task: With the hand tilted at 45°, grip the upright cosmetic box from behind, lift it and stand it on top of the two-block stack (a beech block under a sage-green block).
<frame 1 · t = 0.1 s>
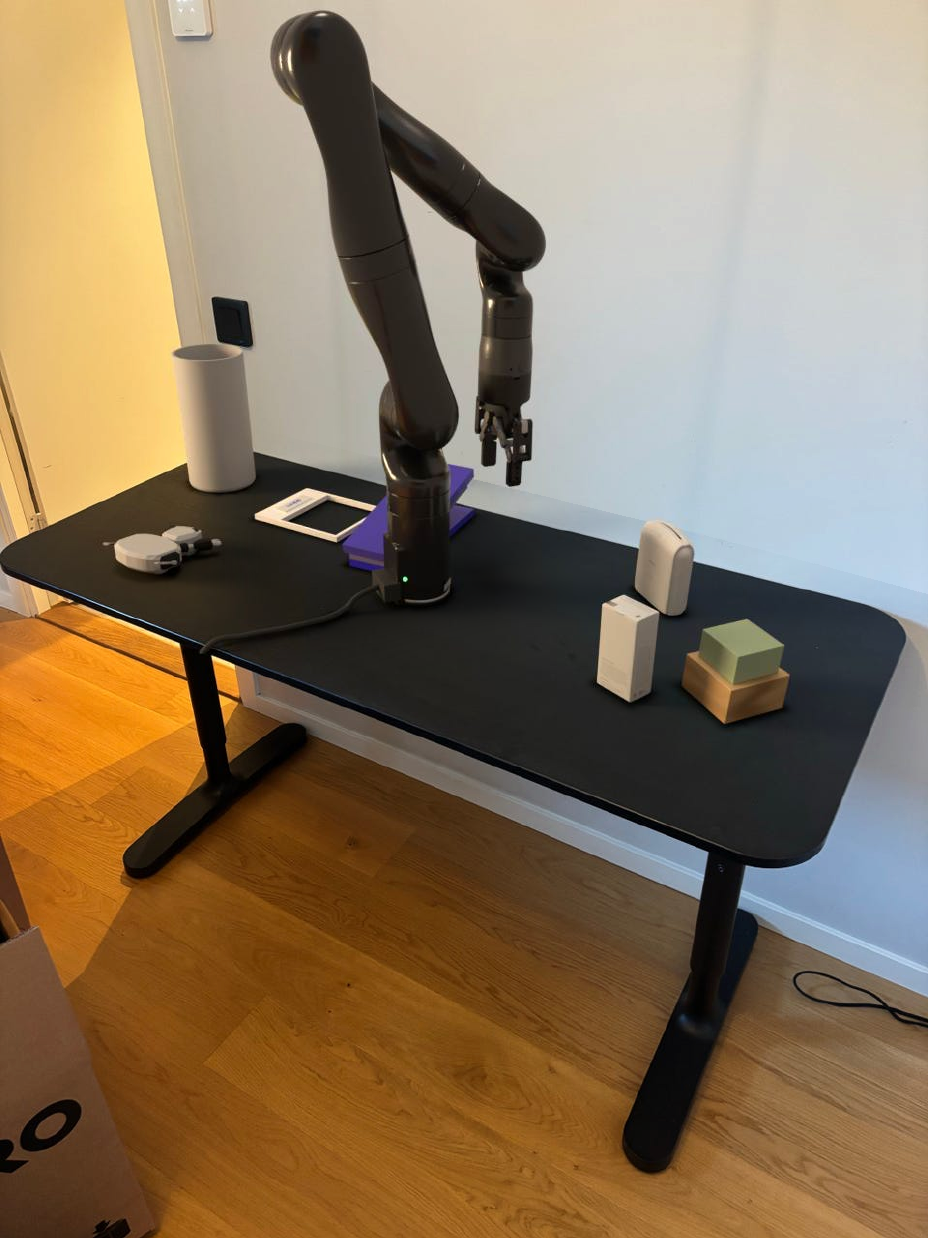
hand: (500, 475, 135), 17 cm above the table, tool pointing down, fingers open, 8 cm apart
stapler: (413, 540, 156), on the table
robot toy: (167, 562, 147), on the table
cylinder vase: (223, 482, 177), on the table
lower block: (730, 696, 117), on the table, touching upper block
upper block: (737, 664, 114), point 5 cm above the table, touching lower block
photo printer: (658, 601, 139), on the table
cosmetic box: (621, 689, 118), on the table
photo frame: (321, 517, 163), on the table
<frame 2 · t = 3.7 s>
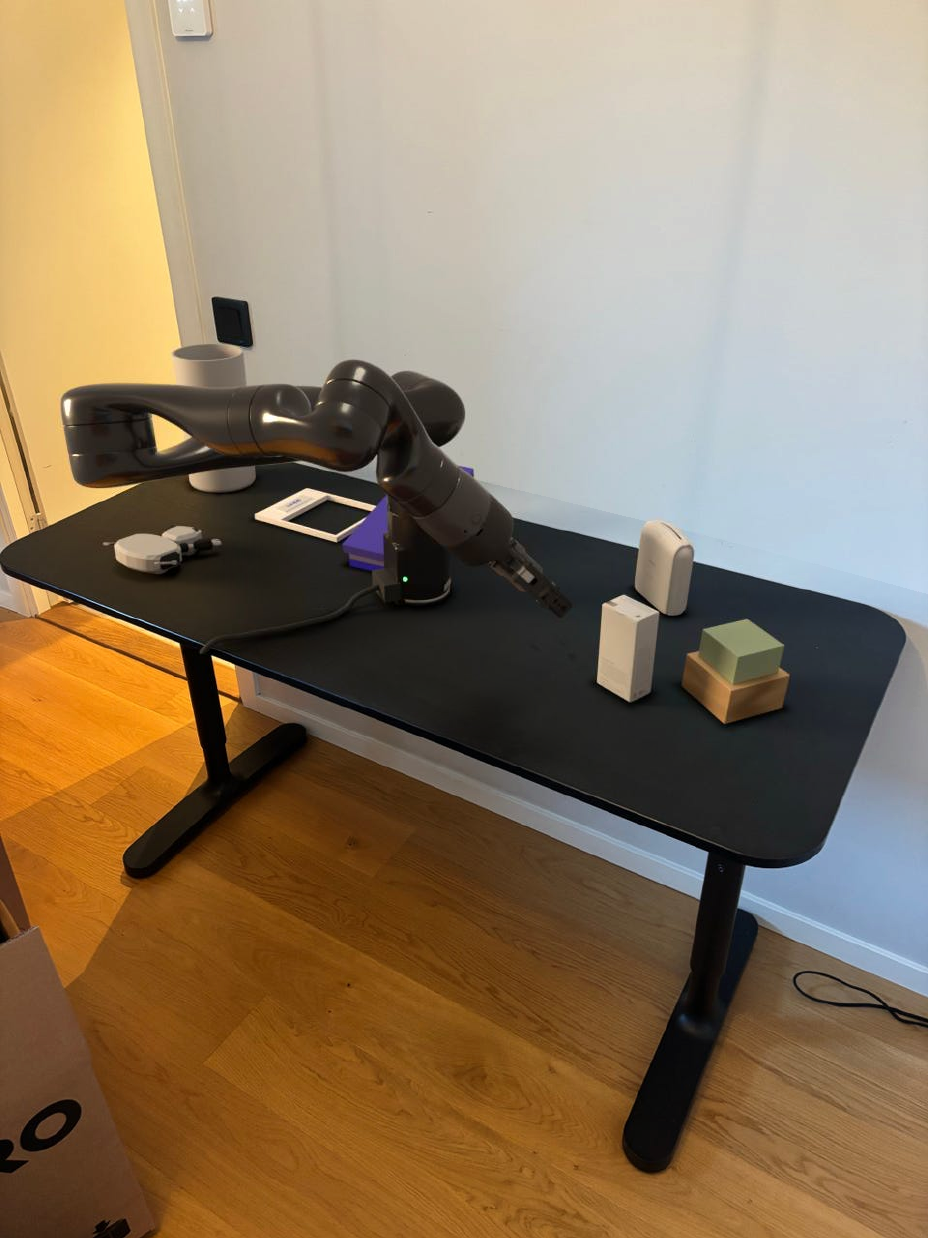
hand: (547, 594, 105), 16 cm above the table, tool tilted 45°, fingers open, 8 cm apart
nothing on the table moved.
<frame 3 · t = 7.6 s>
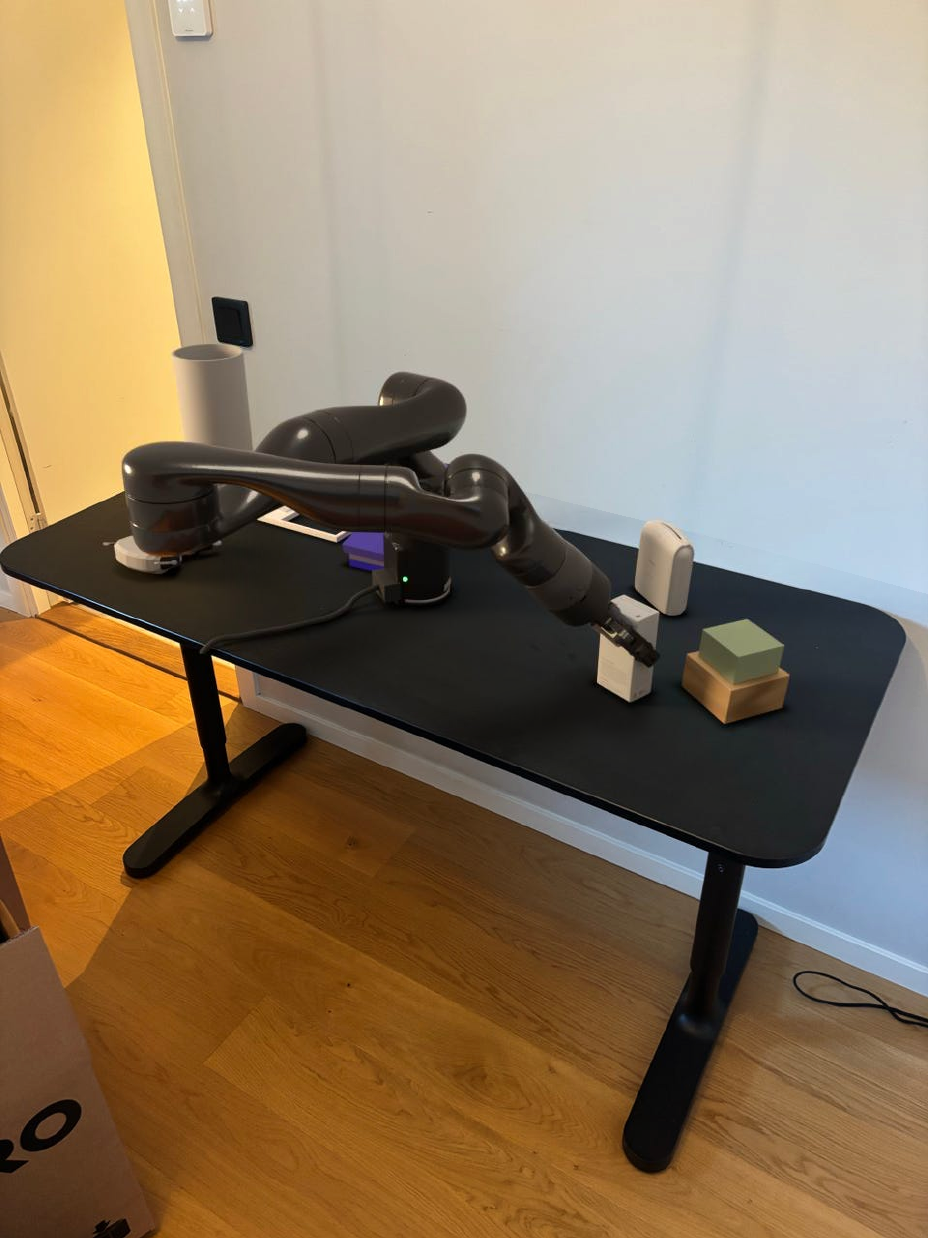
hand: (637, 646, 115), 6 cm above the table, tool tilted 45°, fingers closed on cosmetic box, 6 cm apart
cosmetic box: (621, 689, 118), on the table, touching gripper
everything else where it was.
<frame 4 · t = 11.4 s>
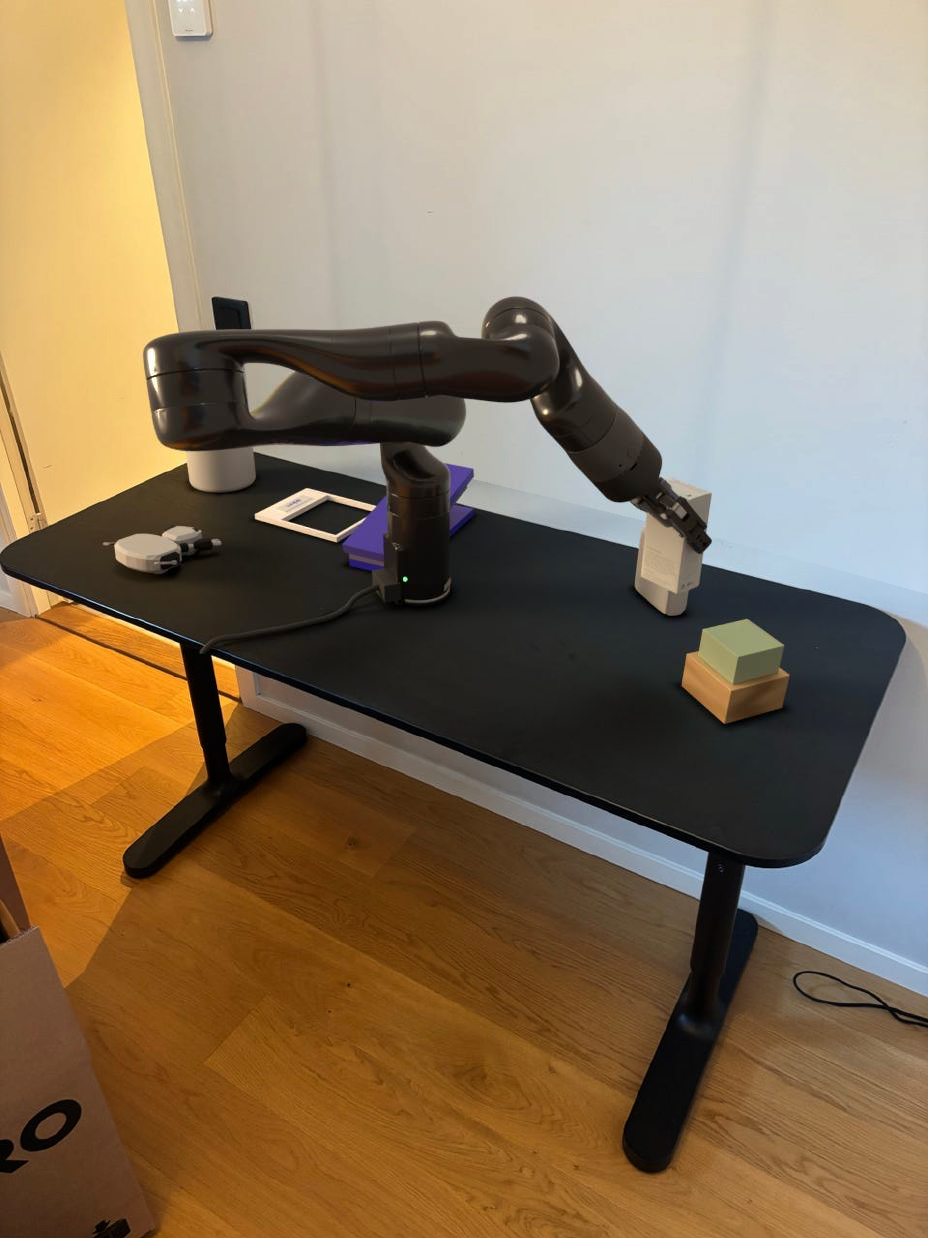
hand: (685, 534, 107), 22 cm above the table, tool tilted 45°, fingers closed on cosmetic box, 6 cm apart
cosmetic box: (667, 583, 109), point 16 cm above the table, touching gripper
everything else where it was.
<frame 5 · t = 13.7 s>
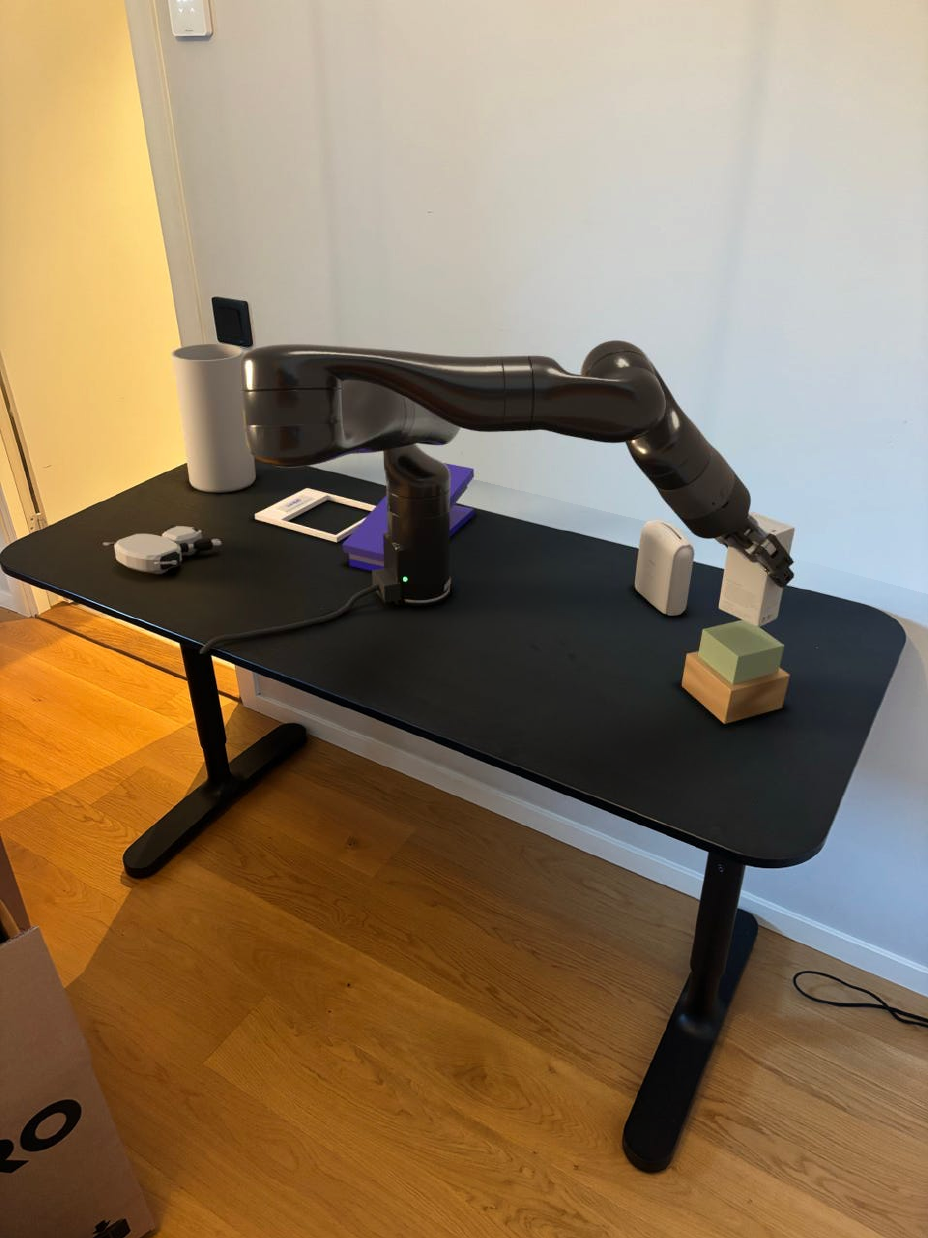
hand: (765, 567, 108), 18 cm above the table, tool tilted 45°, fingers closed on cosmetic box, 6 cm apart
cosmetic box: (745, 615, 111), point 12 cm above the table, touching gripper
everything else where it was.
when the fingers open (15 cm above the table, at t = 15.3 s): cosmetic box stays where it is, resting on upper block.
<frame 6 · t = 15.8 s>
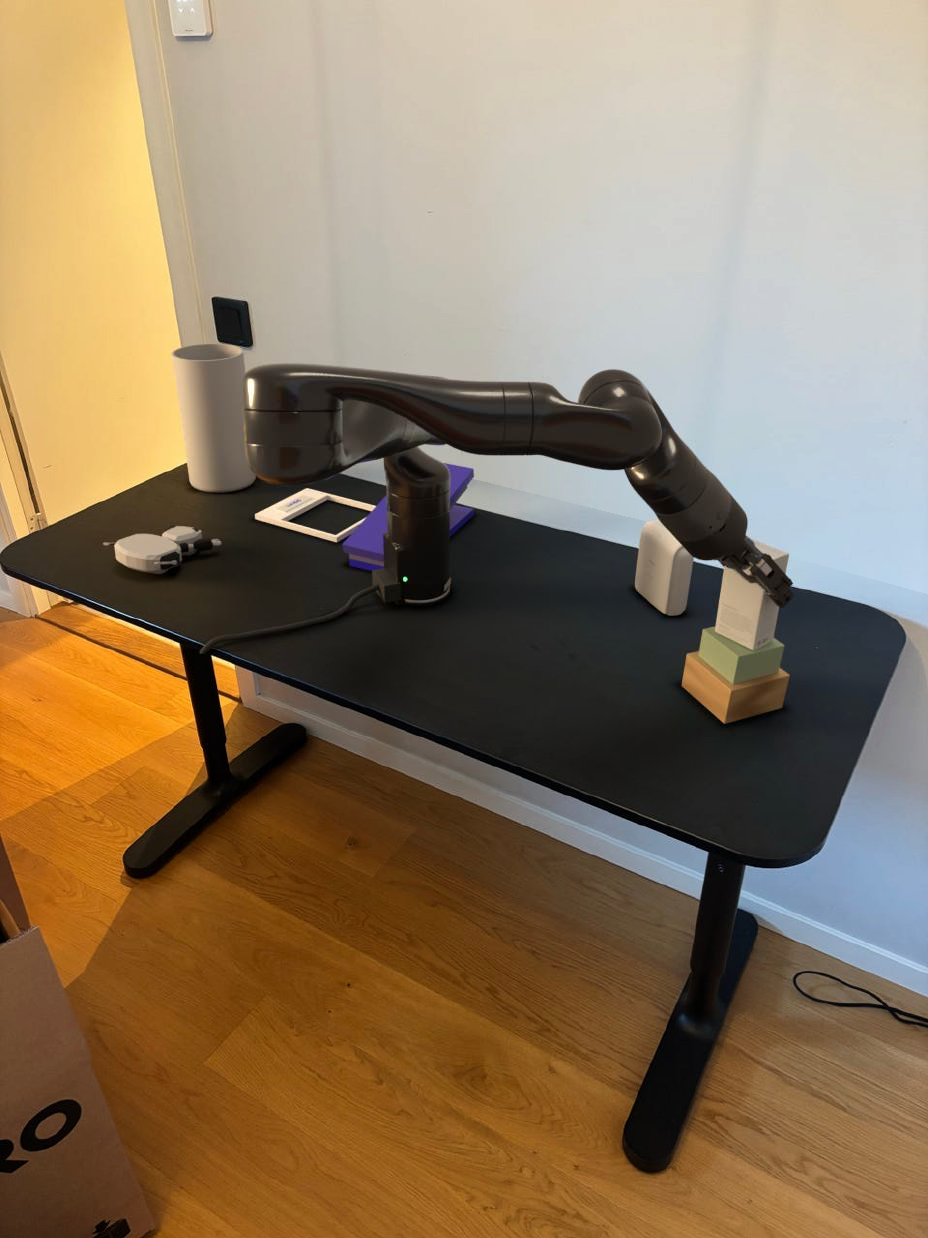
hand: (762, 585, 109), 16 cm above the table, tool tilted 45°, fingers open, 8 cm apart
upper block: (737, 664, 114), point 5 cm above the table, touching cosmetic box, lower block
cosmetic box: (741, 638, 112), point 9 cm above the table, touching upper block
everything else where it was.
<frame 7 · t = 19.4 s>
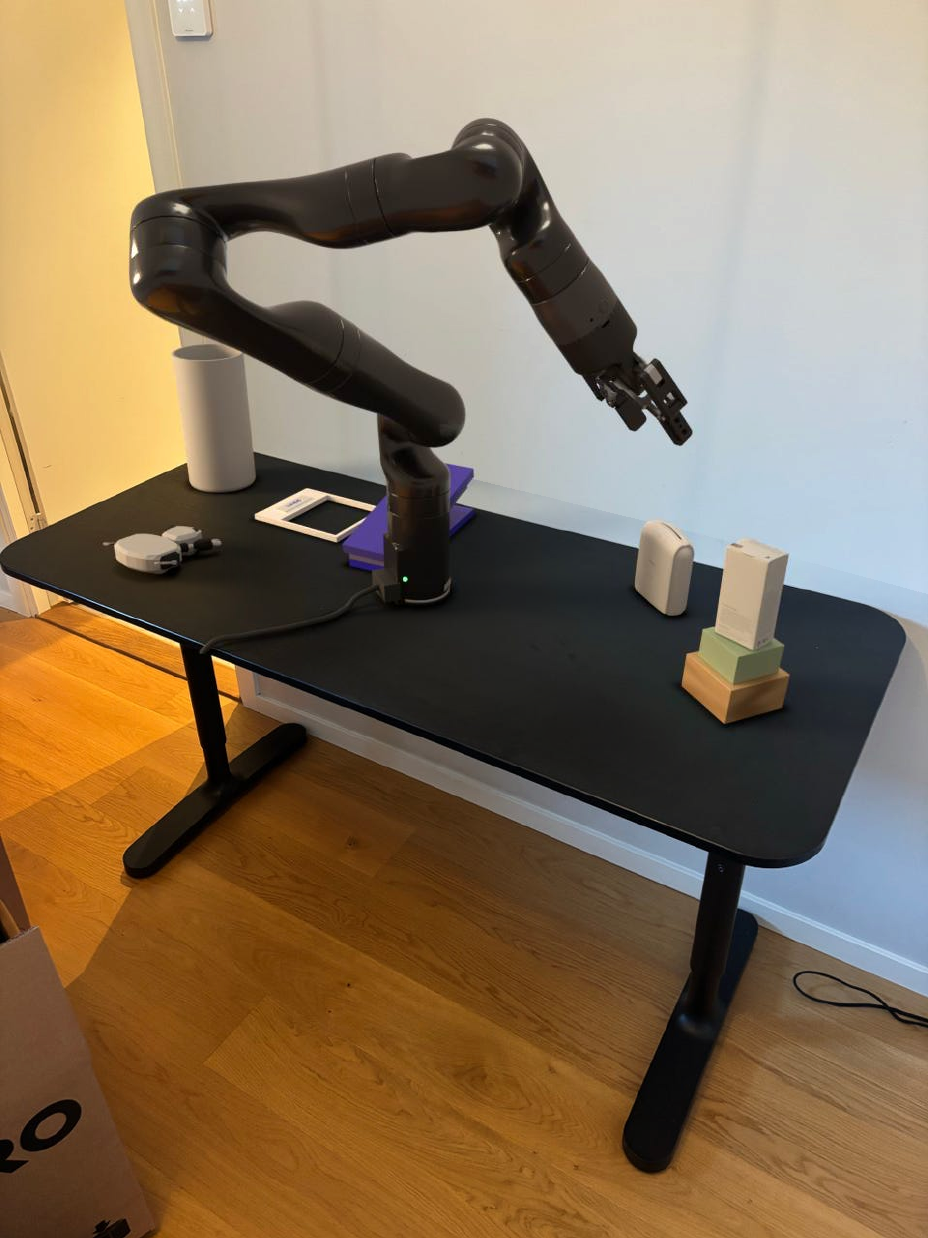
hand: (661, 432, 98), 35 cm above the table, tool tilted 40°, fingers open, 8 cm apart
nothing on the table moved.
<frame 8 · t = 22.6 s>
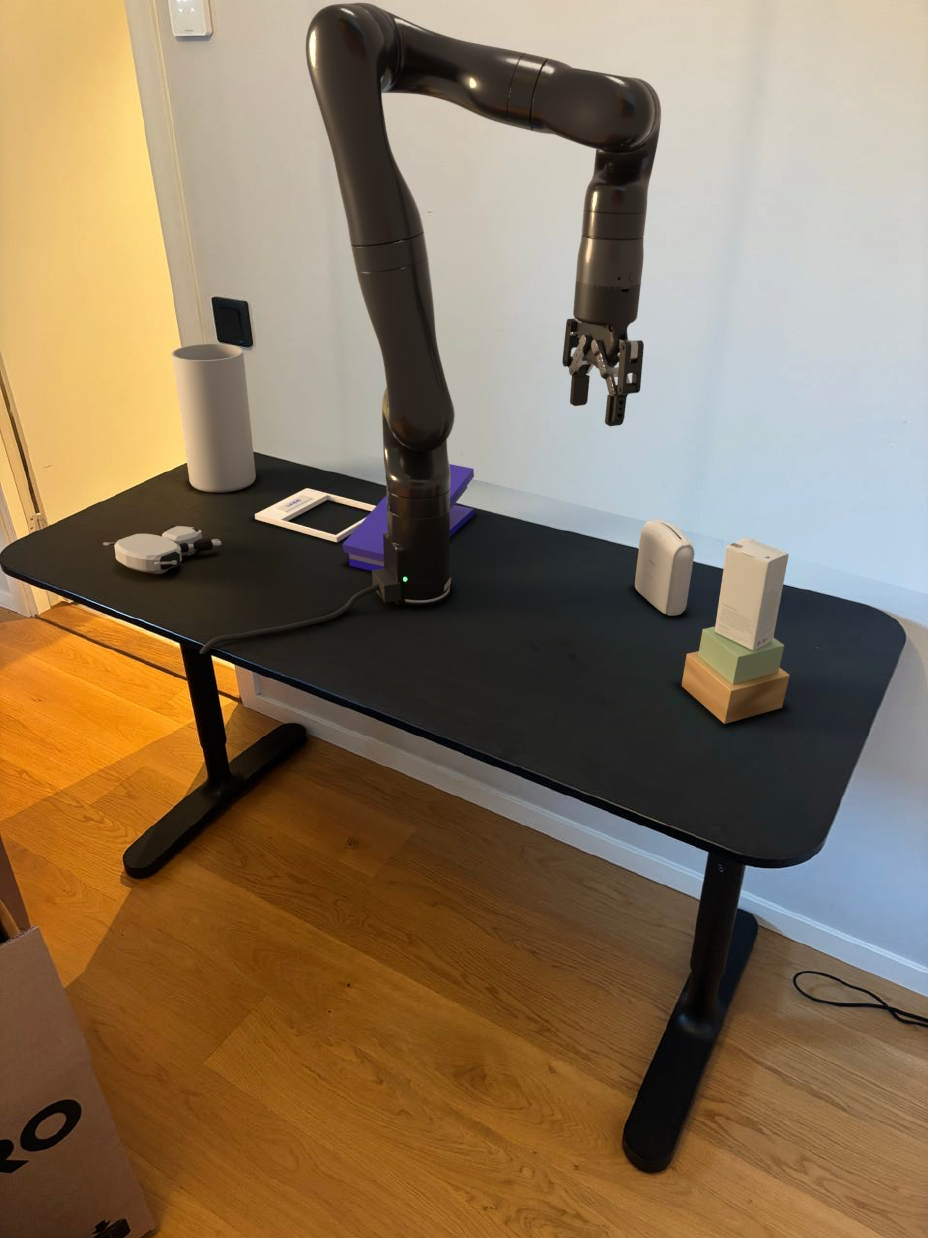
hand: (595, 414, 113), 32 cm above the table, tool pointing down, fingers open, 8 cm apart
nothing on the table moved.
at the end: cosmetic box 0.2 cm off-centre on the upper block, point 3.8 cm above the upper block's base; cosmetic box tilted 0°; upper block 0.0 cm off-centre on the lower block, point 5.0 cm above the lower block's base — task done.
